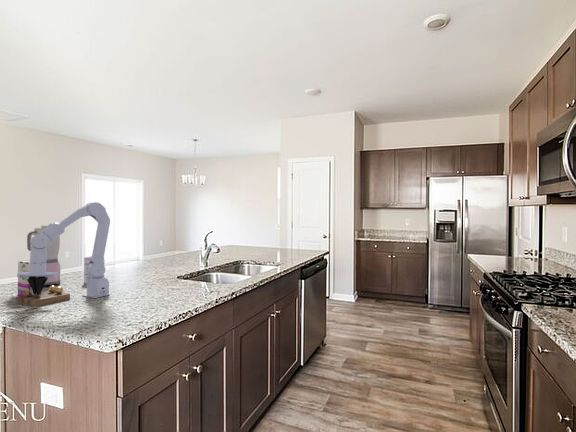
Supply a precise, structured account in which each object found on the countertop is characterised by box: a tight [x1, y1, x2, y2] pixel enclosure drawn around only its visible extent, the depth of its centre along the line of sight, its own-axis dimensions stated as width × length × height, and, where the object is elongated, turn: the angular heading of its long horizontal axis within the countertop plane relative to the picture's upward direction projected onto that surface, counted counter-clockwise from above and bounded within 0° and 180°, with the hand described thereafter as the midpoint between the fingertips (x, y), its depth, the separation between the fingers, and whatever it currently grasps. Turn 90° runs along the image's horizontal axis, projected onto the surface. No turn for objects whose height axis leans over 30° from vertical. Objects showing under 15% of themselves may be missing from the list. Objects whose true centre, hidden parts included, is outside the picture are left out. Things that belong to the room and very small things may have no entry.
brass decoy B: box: [47, 285, 57, 293], centre depth 151 cm, size 3×3×3 cm
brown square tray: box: [16, 290, 71, 308], centre depth 146 cm, size 14×14×2 cm
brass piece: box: [55, 286, 64, 294], centre depth 149 cm, size 3×3×3 cm
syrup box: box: [83, 255, 92, 284], centre depth 187 cm, size 6×6×14 cm
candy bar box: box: [17, 259, 33, 297], centre depth 153 cm, size 11×5×16 cm, turn 62°
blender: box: [26, 224, 61, 286], centre depth 176 cm, size 16×12×32 cm
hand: (36, 294), depth 142 cm, fingers closed, pressing on steel ball
